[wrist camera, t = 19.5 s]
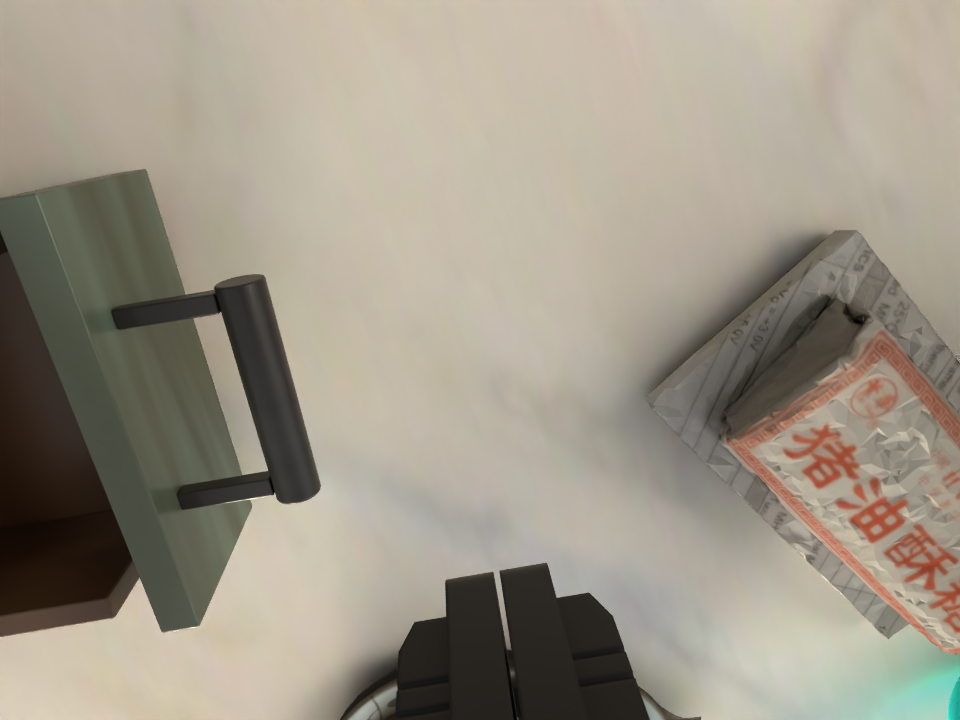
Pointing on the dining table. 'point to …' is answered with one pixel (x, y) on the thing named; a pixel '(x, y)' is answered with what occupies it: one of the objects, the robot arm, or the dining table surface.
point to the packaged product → (839, 433)
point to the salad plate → (377, 704)
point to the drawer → (125, 412)
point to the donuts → (954, 703)
